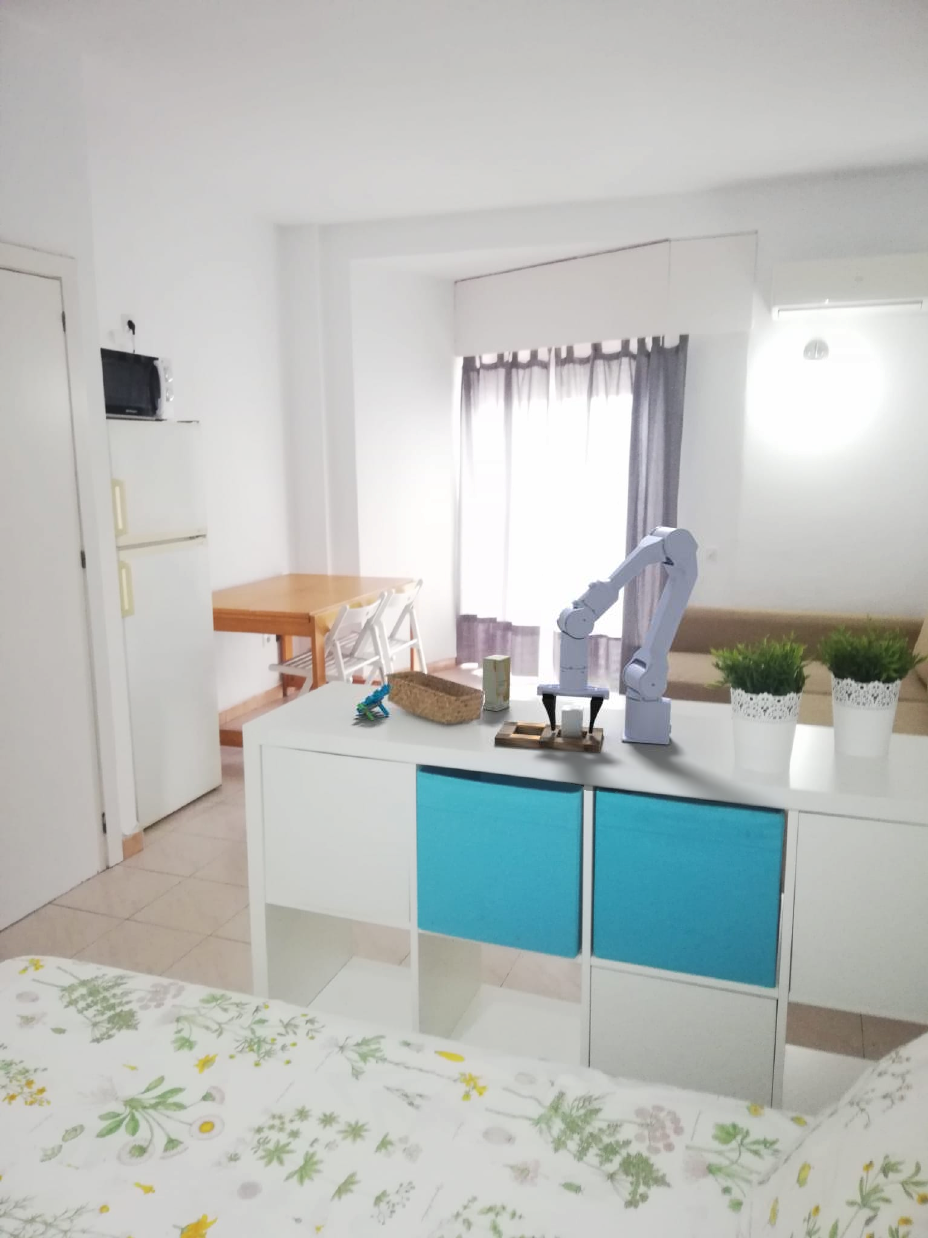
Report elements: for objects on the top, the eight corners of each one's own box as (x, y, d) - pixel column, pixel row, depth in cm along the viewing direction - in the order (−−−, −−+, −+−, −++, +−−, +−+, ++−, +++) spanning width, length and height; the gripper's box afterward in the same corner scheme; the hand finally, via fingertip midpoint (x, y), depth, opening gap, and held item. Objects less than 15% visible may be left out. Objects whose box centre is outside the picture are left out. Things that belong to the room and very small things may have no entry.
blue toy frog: (375, 699, 201) (396, 675, 195) (391, 719, 200) (412, 695, 194) (344, 716, 192) (364, 691, 186) (360, 736, 191) (381, 712, 185)
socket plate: (603, 735, 180) (603, 727, 180) (599, 752, 168) (599, 744, 168) (505, 728, 185) (505, 720, 184) (494, 744, 173) (494, 736, 173)
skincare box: (497, 712, 197) (498, 660, 195) (481, 709, 199) (481, 658, 197) (510, 706, 203) (511, 655, 201) (494, 703, 205) (495, 653, 203)
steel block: (582, 739, 177) (583, 706, 176) (580, 745, 173) (581, 711, 172) (563, 738, 178) (563, 705, 177) (560, 743, 174) (561, 710, 173)
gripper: (611, 664, 175) (608, 728, 177) (540, 660, 178) (539, 723, 181) (609, 671, 168) (606, 737, 171) (536, 667, 172) (534, 732, 174)
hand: (572, 731), depth 175 cm, fingers open, 7 cm apart
